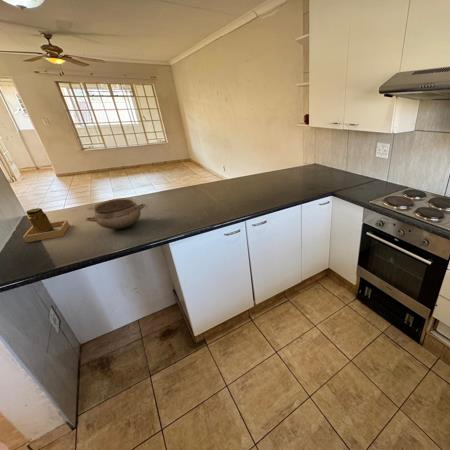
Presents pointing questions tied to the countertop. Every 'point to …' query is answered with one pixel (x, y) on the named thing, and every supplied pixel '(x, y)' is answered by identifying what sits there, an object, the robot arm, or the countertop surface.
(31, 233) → the tray
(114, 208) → the cooking pot
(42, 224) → the condiment
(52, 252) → the countertop surface
